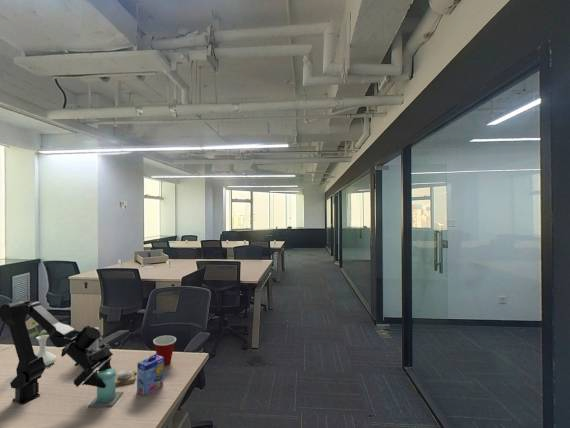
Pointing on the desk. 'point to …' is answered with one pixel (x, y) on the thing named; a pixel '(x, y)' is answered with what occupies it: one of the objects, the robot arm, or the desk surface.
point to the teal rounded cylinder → (109, 380)
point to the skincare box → (94, 344)
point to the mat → (106, 404)
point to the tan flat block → (125, 377)
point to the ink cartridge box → (150, 374)
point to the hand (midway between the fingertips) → (109, 382)
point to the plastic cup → (165, 347)
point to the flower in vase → (41, 342)
